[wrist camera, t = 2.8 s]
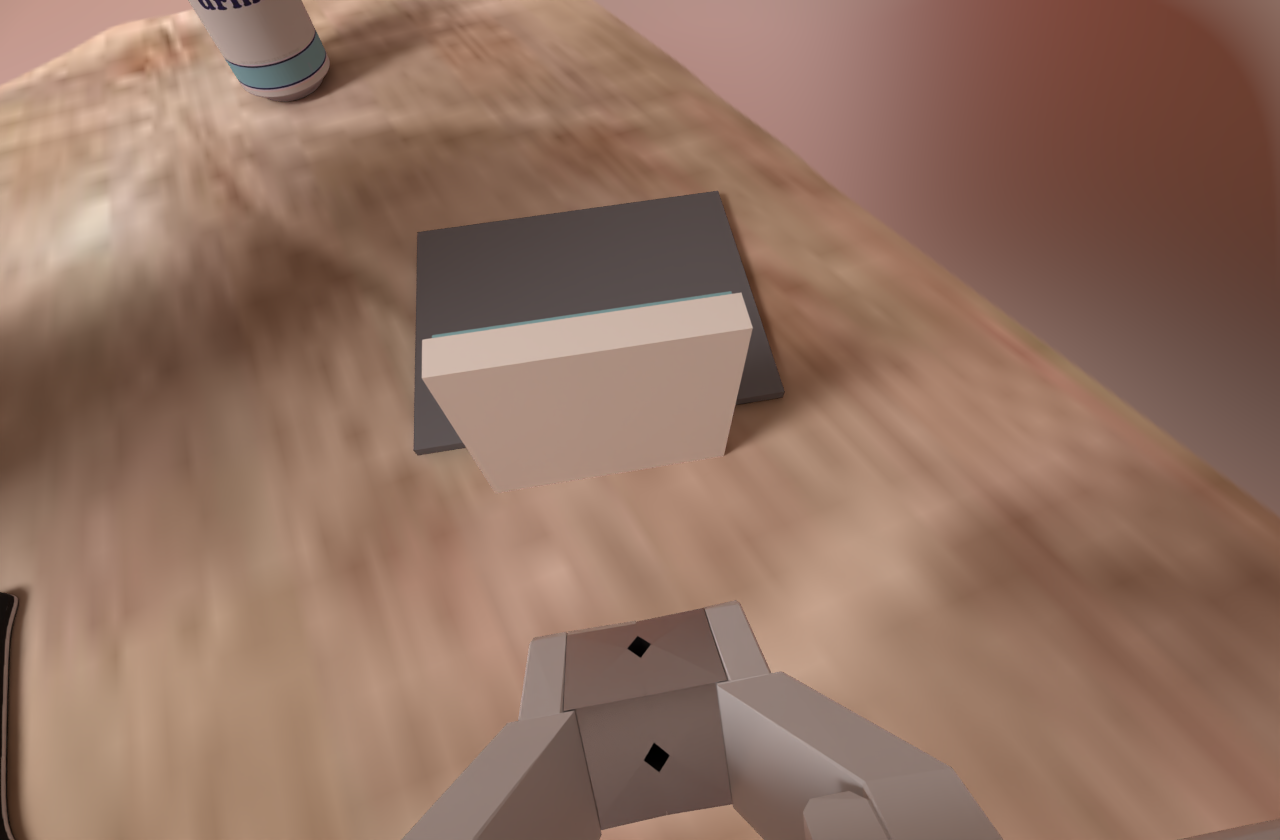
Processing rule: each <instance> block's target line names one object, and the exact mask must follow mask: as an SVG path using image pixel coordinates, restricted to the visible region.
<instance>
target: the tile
mask: <svg viewBox="0 0 1280 840" xmlns="http://www.w3.org/2000/svg"><path fill="white" fill-rule="evenodd" d="M752 329H753V327H752V324H751V321H750V318H749V315H748V312H747V309H746V305H745V302H744V299H743V296H742V293H735V294H732V292H731V291H729V292H722V293H715V294H708V295H702V296H695V297H688V298H681V299H675V300H668V301H661V302H654V303H647V304H641V305H634V306H627V307H620V308H614V309H607V310H600V311H593V312H586V313H580V314H573V315H566V316H559V317H553V318H546V319H539V320H532V321H525V322H519V323H512V324H505V325H498V326H492V327H485V328H478V329H471V330H464V331H458V332H451V333H444V334H437V335H432V338H430V339H423V340H422V379H423V381H424V383H425V384H426V386H427V387H428V389H429V390H430V392H431V393H432V395H433V397H434V398H435V400H436V401H437V403H438V404H439V406H440V408H441V409H442V411H443V412H444V414H445V415H446V417H447V418H448V420H449V422H450V423H451V425H452V426H453V428H454V429H455V431H456V433H457V434H458V436H459V437H460V439H461V440H462V442H463V443H464V445H465V447H466V448H467V450H468V451H469V453H470V454H471V456H472V458H473V459H474V461H475V462H476V464H477V465H478V467H479V468H480V470H481V472H482V473H483V475H484V476H485V478H486V479H487V481H488V483H489V484H490V486H491V487H492V489H493V490H494V492H495V493H501V492H508V491H514V490H520V489H526V488H532V487H538V486H544V485H550V484H556V483H563V482H569V481H575V480H581V479H587V478H593V477H599V476H605V475H612V474H618V473H624V472H630V471H636V470H642V469H648V468H654V467H660V466H667V465H673V464H679V463H685V462H691V461H697V460H703V459H709V458H716V457H722V456H724V453H725V448H726V444H727V439H728V435H729V431H730V426H731V422H732V417H733V413H734V409H735V404H736V400H737V395H738V391H739V386H740V382H741V378H742V373H743V369H744V364H745V360H746V356H747V351H748V347H749V342H750V338H751V333H752Z"/></svg>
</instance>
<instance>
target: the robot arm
mask: <svg viewBox="0 0 1280 840" xmlns="http://www.w3.org/2000/svg"><path fill="white" fill-rule="evenodd" d="M730 804H733V808H734V809H735V810H736V811H737V812H738V813H739V814H740V815H741V816H742V817H743V818H744V819H745V820H746V821H747V822H748V823H749V824H750V825H751V826H752V827H753V828H754V830H755V831H756V832H757V833H758V834H759V835H760V836H761V837H762V838H763V839H764V840H1003V839H1002V837H1001V836H1000V834H999V833H998V832H997V830H996V829H995V827H994V826H993V825H992V823H991V822H990V820H989V819H988V817H987V816H986V815H985V813H984V812H983V810H982V809H981V808H980V806H979V805H978V803H977V802H976V801H975V799H974V798H973V796H972V795H971V794H970V792H969V791H968V789H967V788H966V787H965V785H964V784H963V782H962V781H961V780H960V778H959V777H958V775H957V774H956V773H955V771H954V770H953V768H952V767H950V766H948V765H946V764H944V763H943V762H941V761H939V760H937V759H936V758H934V757H932V756H930V755H929V754H927V753H925V752H923V751H922V750H920V749H918V748H916V747H914V746H913V745H911V744H909V743H907V742H906V741H904V740H902V739H900V738H899V737H897V736H895V735H893V734H892V733H890V732H888V731H886V730H884V729H883V728H881V727H879V726H877V725H876V724H874V723H872V722H870V721H869V720H867V719H865V718H863V717H862V716H860V715H858V714H856V713H854V712H853V711H851V710H849V709H847V708H846V707H844V706H842V705H840V704H839V703H837V702H835V701H833V700H832V699H830V698H828V697H826V696H824V695H823V694H821V693H819V692H817V691H816V690H814V689H812V688H810V687H809V686H807V685H805V684H803V683H802V682H800V681H798V680H796V679H795V678H793V677H791V676H789V675H787V674H786V673H784V672H776V673H771V671H770V669H769V667H768V664H767V662H766V660H765V658H764V655H763V653H762V651H761V649H760V647H759V644H758V642H757V640H756V638H755V635H754V633H753V631H752V629H751V626H750V624H749V622H748V620H747V617H746V615H745V613H744V611H743V609H742V606H741V604H740V603H739V602H738V601H736V600H735V601H730V602H726V603H721V604H717V605H712V606H707V607H703V608H701V609H696V610H691V611H686V612H681V613H676V614H671V615H666V616H662V617H657V618H652V619H647V620H642V621H637V622H636V621H631V622H624V623H618V624H612V625H606V626H600V627H593V628H587V629H581V630H575V631H569V632H568V633H566V632H562V633H557V634H551V635H546V636H541V637H535V638H533V639H532V641H531V643H530V644H529V651H528V658H527V664H526V671H525V678H524V685H523V692H522V698H521V705H520V712H519V719H518V721H516V722H511V723H507V724H506V725H505V726H504V727H503V729H502V730H501V731H500V732H499V733H498V734H497V735H496V736H495V737H494V738H493V740H492V741H491V742H490V743H489V744H488V745H487V746H486V747H485V748H484V749H483V750H482V752H481V753H480V754H479V755H478V756H477V757H476V758H475V759H474V760H473V761H472V763H471V764H470V765H469V766H468V767H467V768H466V769H465V770H464V771H463V772H462V774H461V775H460V776H459V777H458V778H457V779H456V780H455V781H454V782H453V783H452V785H451V786H450V787H449V788H448V789H447V790H446V791H445V792H444V793H443V794H442V796H441V797H440V798H439V799H438V800H437V801H436V802H435V803H434V804H433V805H432V807H431V808H430V809H429V810H428V811H427V812H426V813H425V814H424V815H423V816H422V818H421V819H420V820H419V821H418V822H417V823H416V824H415V825H414V826H413V827H412V829H411V830H410V831H409V832H408V833H407V834H406V835H405V836H404V837H403V838H402V840H599V839H600V837H601V835H602V834H601V830H604V829H608V828H612V827H617V826H621V825H625V824H630V823H634V822H638V821H643V820H647V819H652V818H656V817H660V816H665V815H670V814H676V813H682V812H688V811H694V810H700V809H706V808H712V807H718V806H724V805H730ZM666 812H667V813H666ZM1178 840H1280V819H1275V820H1270V821H1265V822H1260V823H1256V824H1251V825H1246V826H1241V827H1236V828H1232V829H1227V830H1222V831H1217V832H1212V833H1207V834H1203V835H1198V836H1193V837H1188V838H1183V839H1178Z"/></svg>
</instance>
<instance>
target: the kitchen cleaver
mask: <svg viewBox="0 0 1280 840" xmlns="http://www.w3.org/2000/svg"><path fill="white" fill-rule="evenodd" d="M18 603H19V600H18V598H17V597H16V596H15V595H12V594H7V593H1V592H0V840H15V839H14V837H13V834H12V831H11V827H10V824H9V817H8V807H7V733H8V690H9V660H10V642H11V633H12V627H13V623H14V619H15V615H16V612H17V608H18Z"/></svg>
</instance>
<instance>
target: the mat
mask: <svg viewBox="0 0 1280 840" xmlns="http://www.w3.org/2000/svg"><path fill="white" fill-rule="evenodd" d="M729 291H731V292H732V294H735V293H742V296H743V299H744V302H745V305H746V309H747V312H748V315H749V318H750V321H751V324H752V327H753V329H752V333H751V338H750V342H749V347H748V351H747V356H746V360H745V364H744V369H743V373H742V378H741V382H740V386H739V391H738V395H737V400H736V404H735V405H737V404H743V403H750V402H756V401H762V400H769V399H775V398H781V397H783V395H784V392H785V391H784V388H783V385H782V382H781V379H780V376H779V373H778V370H777V367H776V364H775V361H774V358H773V355H772V352H771V349H770V346H769V343H768V340H767V337H766V334H765V331H764V328H763V325H762V322H761V319H760V316H759V313H758V310H757V307H756V304H755V301H754V298H753V295H752V292H751V289H750V286H749V283H748V280H747V277H746V274H745V271H744V268H743V265H742V262H741V259H740V256H739V253H738V250H737V247H736V244H735V241H734V237H733V234H732V231H731V228H730V225H729V222H728V219H727V216H726V213H725V210H724V207H723V204H722V201H721V198H720V195H719V192H718V191H713V192H706V193H698V194H691V195H684V196H677V197H669V198H662V199H655V200H648V201H641V202H633V203H626V204H619V205H612V206H604V207H597V208H590V209H583V210H575V211H568V212H561V213H554V214H546V215H539V216H532V217H525V218H518V219H510V220H503V221H496V222H489V223H481V224H474V225H467V226H460V227H452V228H445V229H438V230H431V231H423V232H418V236H417V291H416V346H415V400H414V451H415V453H416V454H417V455H422V454H428V453H435V452H441V451H447V450H454V449H460V448H466V447H465V445H464V443H463V442H462V440H461V439H460V437H459V436H458V434H457V433H456V431H455V429H454V428H453V426H452V425H451V423H450V422H449V420H448V418H447V417H446V415H445V414H444V412H443V411H442V409H441V408H440V406H439V404H438V403H437V401H436V400H435V398H434V397H433V395H432V393H431V392H430V390H429V389H428V387H427V386H426V384H425V383H424V381H423V379H422V340H423V339H430V338H432V335H437V334H444V333H451V332H458V331H464V330H471V329H478V328H485V327H492V326H498V325H505V324H512V323H519V322H525V321H532V320H539V319H546V318H553V317H559V316H566V315H573V314H580V313H586V312H593V311H600V310H607V309H614V308H620V307H627V306H634V305H641V304H647V303H654V302H661V301H668V300H675V299H681V298H688V297H695V296H702V295H708V294H715V293H722V292H729Z"/></svg>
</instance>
